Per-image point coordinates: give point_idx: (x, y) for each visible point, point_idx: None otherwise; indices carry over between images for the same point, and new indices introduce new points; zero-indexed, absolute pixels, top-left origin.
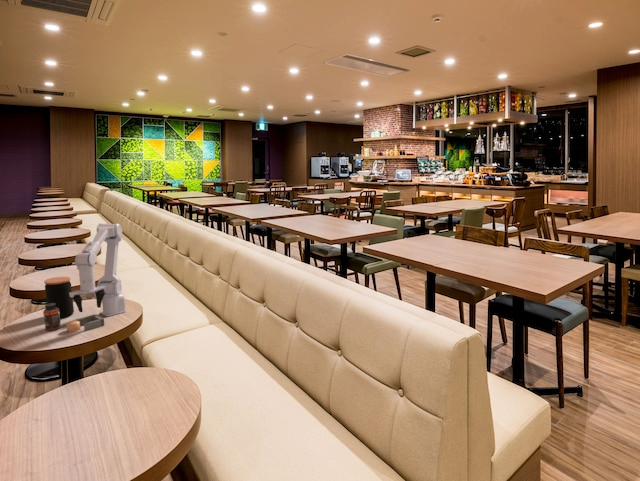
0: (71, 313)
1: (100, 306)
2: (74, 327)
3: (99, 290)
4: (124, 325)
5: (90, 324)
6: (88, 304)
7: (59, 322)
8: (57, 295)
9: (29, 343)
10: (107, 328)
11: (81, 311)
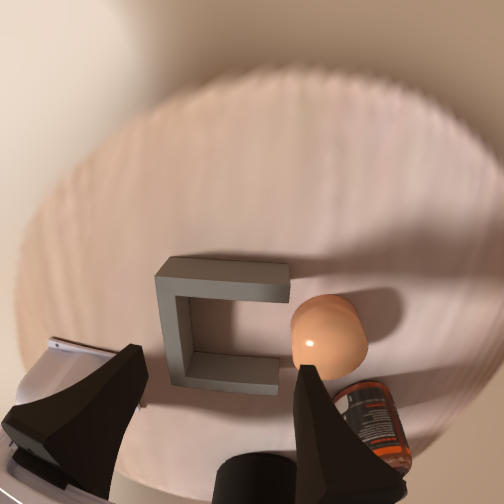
0: (236, 461)
1: (125, 348)
2: (341, 311)
3: (49, 484)
4: (90, 157)
5: (252, 277)
6: (156, 473)
7: (350, 408)
8: None
9: (496, 309)
10: (177, 188)
11: (310, 366)
